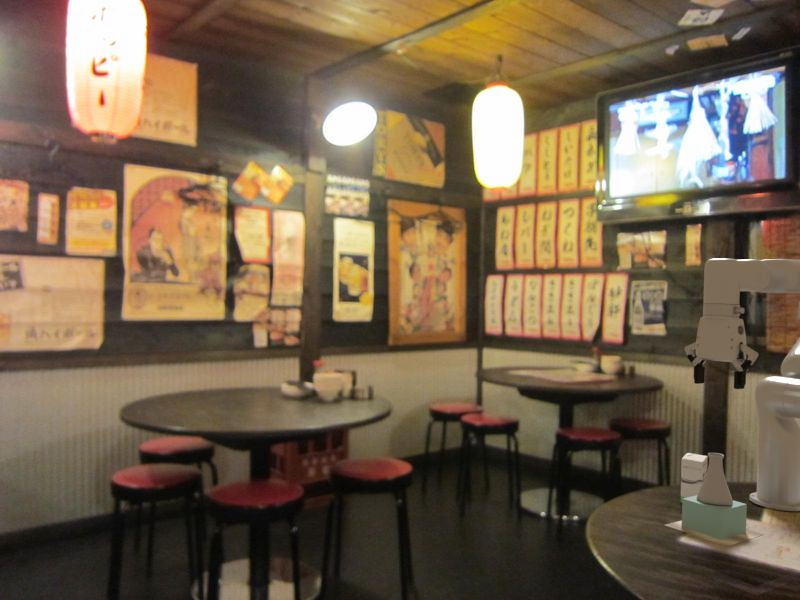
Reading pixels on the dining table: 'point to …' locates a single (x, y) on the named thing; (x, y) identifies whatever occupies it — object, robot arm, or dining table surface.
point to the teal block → (714, 518)
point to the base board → (725, 542)
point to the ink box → (692, 474)
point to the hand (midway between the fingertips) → (718, 385)
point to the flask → (715, 483)
